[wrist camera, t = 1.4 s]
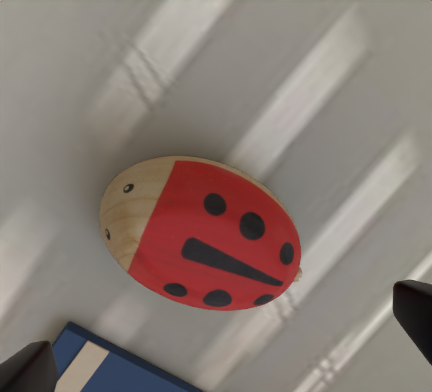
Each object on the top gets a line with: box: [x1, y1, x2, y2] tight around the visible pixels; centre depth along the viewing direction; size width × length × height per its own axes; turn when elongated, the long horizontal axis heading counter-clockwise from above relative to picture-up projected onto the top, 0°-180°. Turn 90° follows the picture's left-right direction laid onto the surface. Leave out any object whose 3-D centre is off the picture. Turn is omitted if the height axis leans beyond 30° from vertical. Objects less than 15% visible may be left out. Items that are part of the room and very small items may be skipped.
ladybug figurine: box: [99, 156, 302, 311], centre depth 14 cm, size 7×10×4 cm
